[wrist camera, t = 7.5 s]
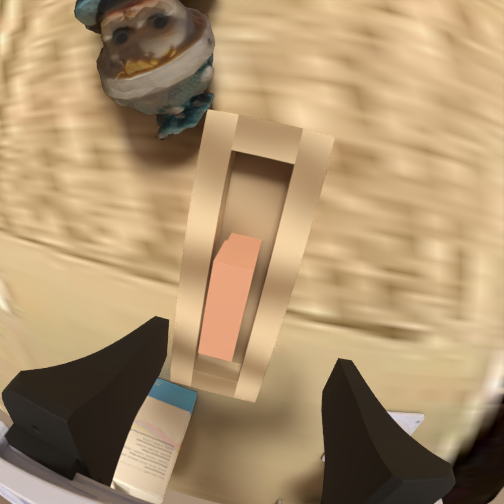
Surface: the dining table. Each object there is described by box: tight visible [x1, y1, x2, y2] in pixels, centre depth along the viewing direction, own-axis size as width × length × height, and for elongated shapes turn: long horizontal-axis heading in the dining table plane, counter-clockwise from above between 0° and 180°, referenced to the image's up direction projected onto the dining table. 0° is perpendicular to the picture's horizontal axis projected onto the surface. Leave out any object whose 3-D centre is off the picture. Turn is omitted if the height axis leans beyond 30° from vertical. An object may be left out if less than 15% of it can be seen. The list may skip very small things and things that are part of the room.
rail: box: [170, 109, 335, 402], centre depth 21 cm, size 20×7×2 cm, turn 168°
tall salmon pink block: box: [198, 233, 262, 362], centre depth 19 cm, size 6×2×6 cm, turn 168°
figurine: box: [74, 0, 215, 140], centre depth 13 cm, size 9×8×15 cm
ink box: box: [111, 378, 197, 504], centre depth 23 cm, size 9×8×13 cm
